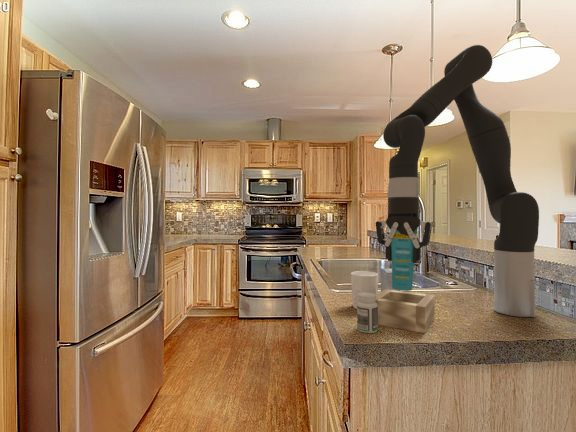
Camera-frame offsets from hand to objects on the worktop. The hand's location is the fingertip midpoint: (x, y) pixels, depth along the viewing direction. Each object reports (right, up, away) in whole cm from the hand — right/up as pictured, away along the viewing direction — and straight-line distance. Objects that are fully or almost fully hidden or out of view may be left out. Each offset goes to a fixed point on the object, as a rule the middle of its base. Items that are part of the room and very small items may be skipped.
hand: (402, 261), depth 84 cm
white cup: (-7, -15, +12) cm, 21 cm away
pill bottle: (-11, -15, -7) cm, 20 cm away
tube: (0, -7, 0) cm, 7 cm away
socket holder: (0, -15, 0) cm, 15 cm away
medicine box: (+5, -15, +25) cm, 30 cm away
